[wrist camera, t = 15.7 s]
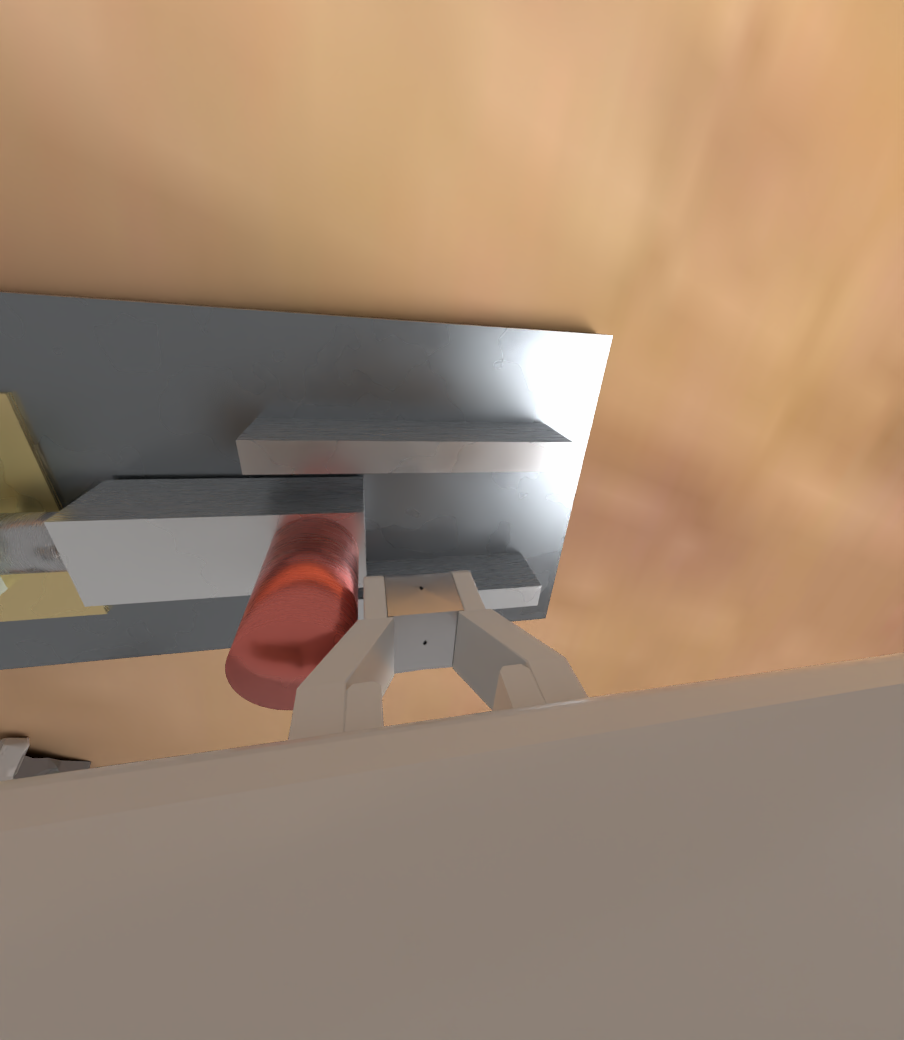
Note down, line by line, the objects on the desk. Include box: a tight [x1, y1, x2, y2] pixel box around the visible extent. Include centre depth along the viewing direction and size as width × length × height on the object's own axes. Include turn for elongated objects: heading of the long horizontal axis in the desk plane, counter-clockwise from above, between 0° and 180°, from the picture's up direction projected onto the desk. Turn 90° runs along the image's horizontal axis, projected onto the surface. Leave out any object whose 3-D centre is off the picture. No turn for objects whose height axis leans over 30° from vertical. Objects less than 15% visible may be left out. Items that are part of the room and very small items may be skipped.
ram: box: [0, 477, 367, 710], centre depth 10 cm, size 11×3×7 cm, turn 86°
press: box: [0, 291, 613, 670], centre depth 12 cm, size 27×13×7 cm, turn 86°
